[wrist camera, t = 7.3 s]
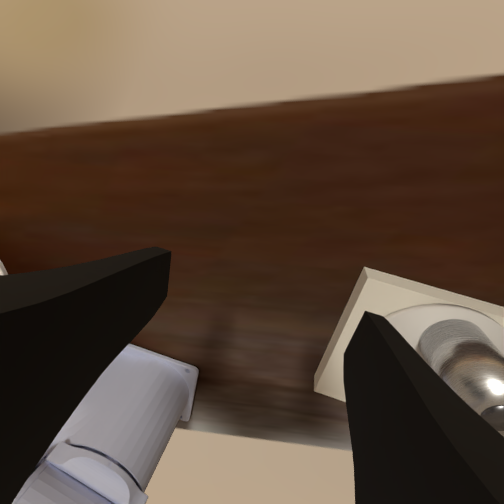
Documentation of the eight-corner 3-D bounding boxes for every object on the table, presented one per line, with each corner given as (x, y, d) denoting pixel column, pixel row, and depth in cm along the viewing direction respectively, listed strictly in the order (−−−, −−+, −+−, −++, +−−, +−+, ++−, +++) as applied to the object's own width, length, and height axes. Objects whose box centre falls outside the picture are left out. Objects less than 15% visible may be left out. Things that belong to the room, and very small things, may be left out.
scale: (314, 375, 24) (313, 399, 21) (364, 265, 19) (370, 282, 17) (463, 425, 22) (479, 457, 20) (558, 321, 18) (592, 348, 15)
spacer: (408, 354, 18) (440, 428, 13) (437, 311, 16) (484, 379, 12) (464, 372, 18) (516, 454, 13) (498, 330, 16) (571, 407, 12)
